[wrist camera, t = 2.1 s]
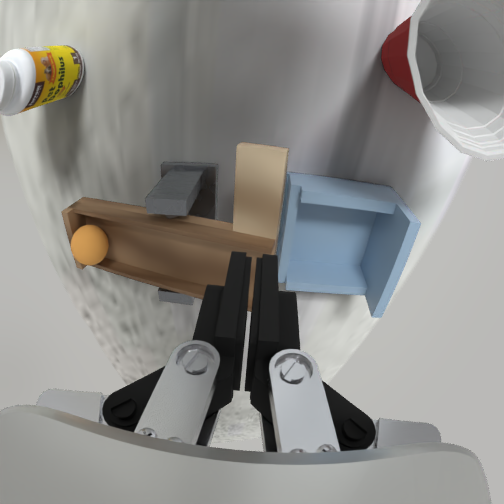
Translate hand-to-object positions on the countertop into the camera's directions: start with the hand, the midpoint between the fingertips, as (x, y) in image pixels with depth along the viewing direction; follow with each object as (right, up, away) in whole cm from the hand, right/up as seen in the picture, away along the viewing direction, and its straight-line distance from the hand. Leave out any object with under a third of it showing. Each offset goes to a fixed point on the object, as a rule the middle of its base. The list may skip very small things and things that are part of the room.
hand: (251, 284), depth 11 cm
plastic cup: (+13, +17, +8) cm, 23 cm away
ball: (-14, +2, +12) cm, 18 cm away
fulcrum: (-6, +5, +17) cm, 19 cm away
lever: (-7, +4, +11) cm, 14 cm away
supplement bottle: (-18, +18, +9) cm, 27 cm away
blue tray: (+8, +4, +17) cm, 19 cm away
